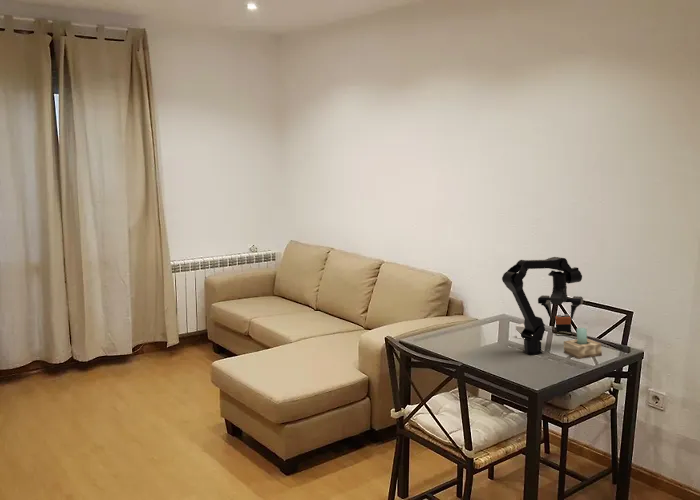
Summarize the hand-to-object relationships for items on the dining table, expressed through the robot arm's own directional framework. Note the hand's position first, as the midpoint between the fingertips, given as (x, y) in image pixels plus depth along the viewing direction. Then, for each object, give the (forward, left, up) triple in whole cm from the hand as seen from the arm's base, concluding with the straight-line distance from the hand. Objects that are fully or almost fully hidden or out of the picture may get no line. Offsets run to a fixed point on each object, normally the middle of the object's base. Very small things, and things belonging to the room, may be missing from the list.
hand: (561, 318), depth 277 cm
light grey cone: (-6, +23, -13) cm, 27 cm away
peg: (+1, -14, -12) cm, 18 cm away
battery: (+12, +18, -13) cm, 25 cm away
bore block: (+1, -14, -13) cm, 19 cm away
